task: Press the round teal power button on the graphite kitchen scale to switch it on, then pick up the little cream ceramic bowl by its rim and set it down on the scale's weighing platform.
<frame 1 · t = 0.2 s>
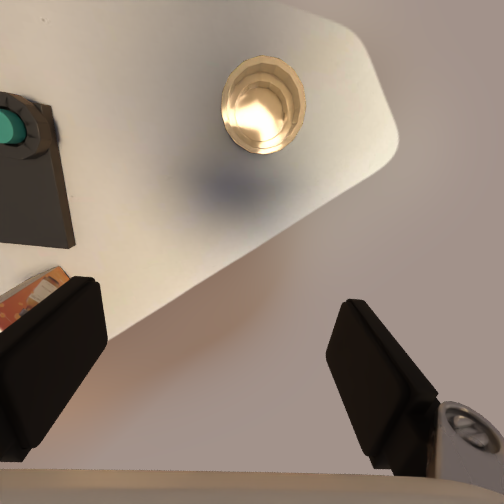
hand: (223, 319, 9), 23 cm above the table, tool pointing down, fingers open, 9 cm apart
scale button: (2, 126, 23), point 3 cm above the table, slide at 0.1 cm
small box: (63, 293, 35), on the table
scale: (0, 175, 28), on the table
little bowl: (259, 116, 26), on the table
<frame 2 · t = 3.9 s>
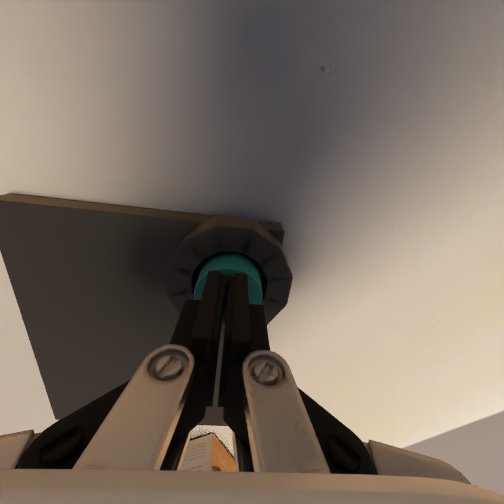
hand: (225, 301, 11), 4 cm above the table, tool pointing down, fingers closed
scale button: (229, 288, 11), point 3 cm above the table, slide at -0.1 cm, touching gripper
small box: (206, 459, 23), on the table
scale: (156, 326, 16), on the table
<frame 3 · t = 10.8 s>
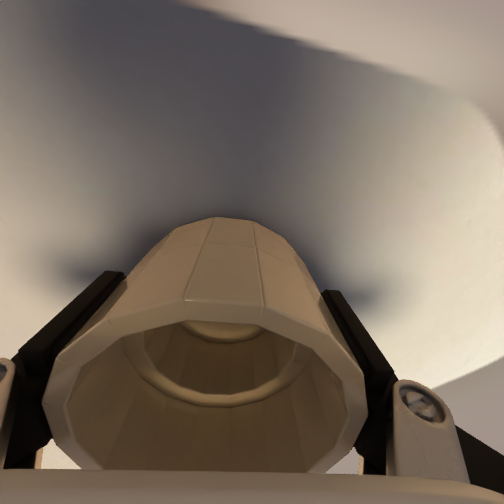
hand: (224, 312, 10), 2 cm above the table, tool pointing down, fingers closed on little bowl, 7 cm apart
little bowl: (226, 291, 11), on the table, touching gripper
when the fingers open (3 cm above the table, at t = 20.7 s): little bowl stays where it is, resting on scale.
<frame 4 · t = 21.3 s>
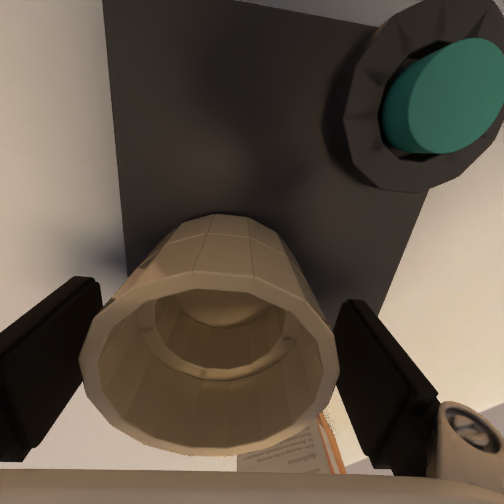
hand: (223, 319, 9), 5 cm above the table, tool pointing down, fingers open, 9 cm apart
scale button: (438, 104, 8), point 3 cm above the table, slide at 0.1 cm
small box: (287, 414, 20), on the table
scale: (269, 221, 13), on the table
little bowl: (225, 280, 13), point 1 cm above the table, touching scale
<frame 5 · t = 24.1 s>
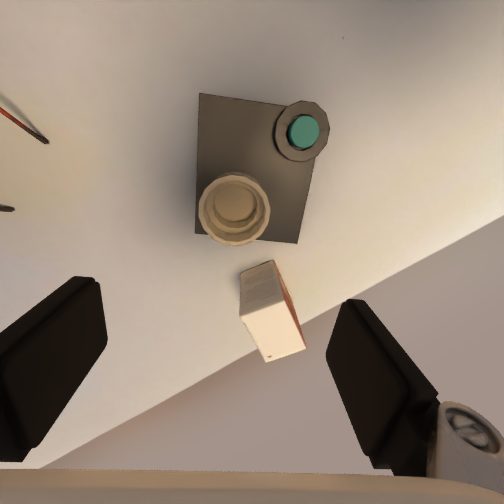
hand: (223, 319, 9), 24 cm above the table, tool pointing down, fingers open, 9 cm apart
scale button: (303, 132, 26), point 3 cm above the table, slide at 0.1 cm
small box: (266, 285, 37), on the table
scale: (253, 176, 31), on the table
little bowl: (235, 200, 30), point 1 cm above the table, touching scale
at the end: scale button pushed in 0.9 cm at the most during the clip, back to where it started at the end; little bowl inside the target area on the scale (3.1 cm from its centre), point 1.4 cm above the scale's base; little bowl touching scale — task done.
